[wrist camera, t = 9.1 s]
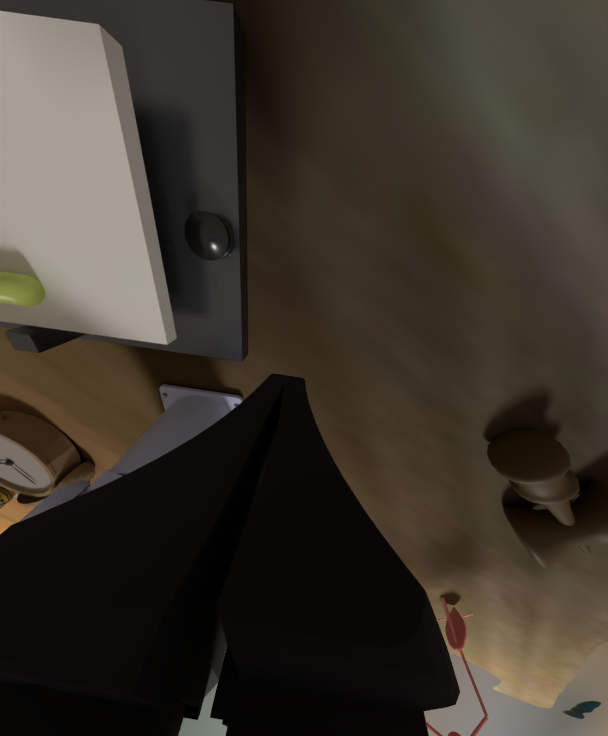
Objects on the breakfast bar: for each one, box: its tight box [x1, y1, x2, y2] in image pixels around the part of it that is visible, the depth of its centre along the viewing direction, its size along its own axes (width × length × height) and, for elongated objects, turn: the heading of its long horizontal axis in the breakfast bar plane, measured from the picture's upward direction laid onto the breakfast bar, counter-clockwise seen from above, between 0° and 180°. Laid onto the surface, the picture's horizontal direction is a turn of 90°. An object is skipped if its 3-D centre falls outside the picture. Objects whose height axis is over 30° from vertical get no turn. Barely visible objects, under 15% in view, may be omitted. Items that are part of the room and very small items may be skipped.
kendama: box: [487, 429, 608, 568], centre depth 22 cm, size 6×10×20 cm
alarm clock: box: [0, 411, 95, 507], centre depth 28 cm, size 11×5×15 cm
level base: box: [0, 0, 248, 362], centre depth 13 cm, size 25×17×6 cm
